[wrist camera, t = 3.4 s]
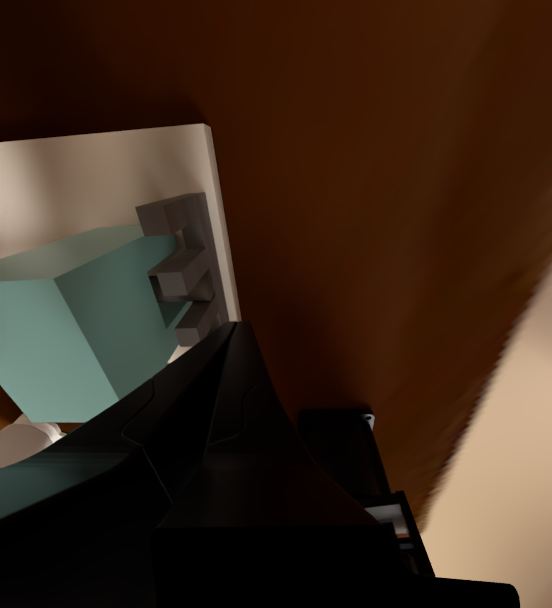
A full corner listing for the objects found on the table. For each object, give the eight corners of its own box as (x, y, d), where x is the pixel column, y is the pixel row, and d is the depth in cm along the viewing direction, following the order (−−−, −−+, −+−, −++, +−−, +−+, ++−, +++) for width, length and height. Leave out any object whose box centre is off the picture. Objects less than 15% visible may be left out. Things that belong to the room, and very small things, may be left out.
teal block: (170, 222, 13) (53, 278, 6) (195, 316, 16) (131, 421, 9) (98, 227, 13) (-85, 285, 7) (135, 319, 16) (31, 422, 10)
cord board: (210, 127, 12) (151, 97, 7) (246, 350, 19) (230, 420, 14) (-114, 156, 13) (-371, 150, 8) (28, 355, 20) (-63, 422, 15)
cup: (-1, 394, 23) (-131, 496, 16) (110, 428, 25) (38, 534, 18) (3, 435, 26) (-104, 535, 19) (101, 462, 28) (37, 563, 21)
